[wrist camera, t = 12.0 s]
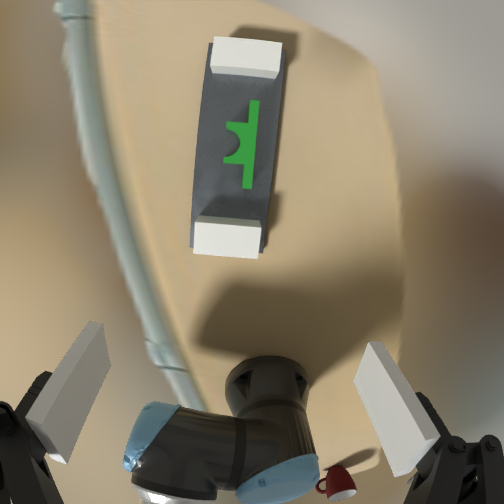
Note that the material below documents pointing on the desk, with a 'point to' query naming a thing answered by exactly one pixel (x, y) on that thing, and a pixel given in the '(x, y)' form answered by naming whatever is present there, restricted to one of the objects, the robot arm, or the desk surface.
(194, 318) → the desk surface
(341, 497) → the mug
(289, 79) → the desk surface
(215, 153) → the mounting rail
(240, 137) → the pipe clamp
